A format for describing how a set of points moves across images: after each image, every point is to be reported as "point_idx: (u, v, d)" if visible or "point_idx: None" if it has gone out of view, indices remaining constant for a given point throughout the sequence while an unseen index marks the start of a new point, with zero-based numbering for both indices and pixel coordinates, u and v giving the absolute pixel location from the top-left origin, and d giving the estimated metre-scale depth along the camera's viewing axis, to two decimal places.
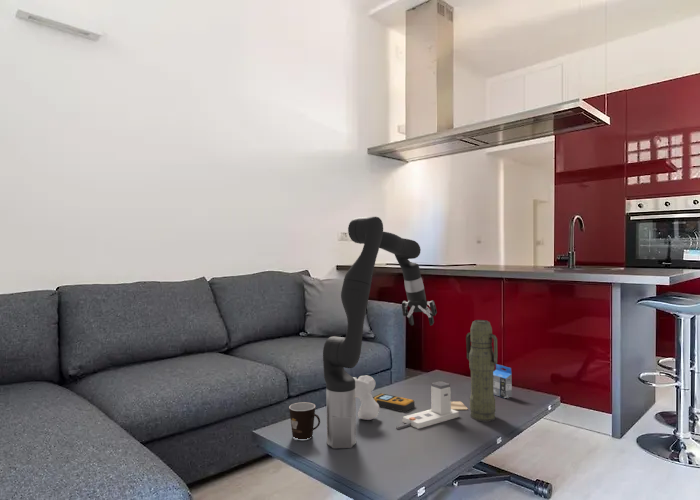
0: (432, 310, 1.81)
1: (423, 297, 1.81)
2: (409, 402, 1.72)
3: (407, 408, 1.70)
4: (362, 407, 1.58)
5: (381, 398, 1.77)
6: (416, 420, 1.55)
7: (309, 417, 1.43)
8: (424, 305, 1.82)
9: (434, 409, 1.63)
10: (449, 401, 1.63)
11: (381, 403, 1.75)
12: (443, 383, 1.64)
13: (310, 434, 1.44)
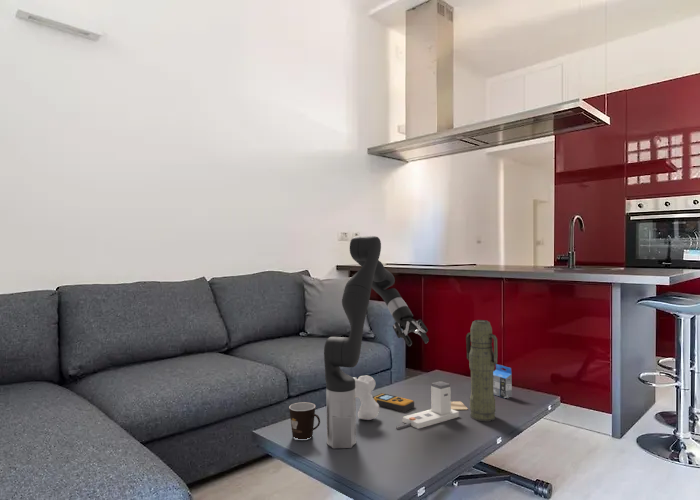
0: (424, 326, 1.80)
1: None
2: (408, 402, 1.72)
3: (406, 408, 1.70)
4: (362, 407, 1.58)
5: (381, 398, 1.77)
6: (416, 420, 1.55)
7: (309, 417, 1.43)
8: (415, 322, 1.80)
9: (434, 409, 1.63)
10: (449, 401, 1.63)
11: (381, 403, 1.75)
12: (443, 383, 1.64)
13: (310, 434, 1.44)
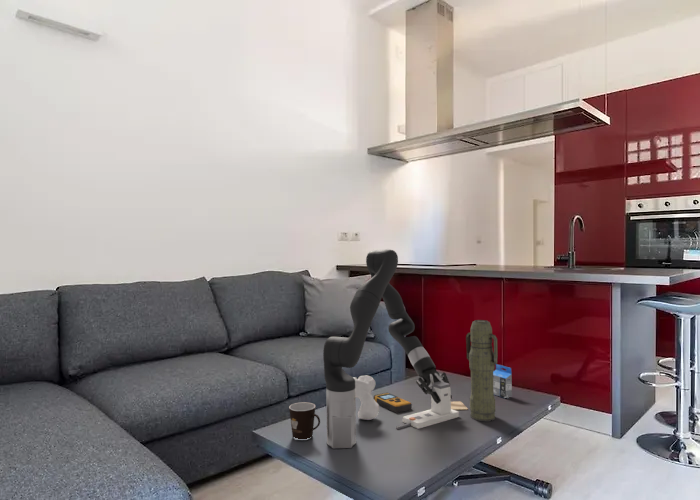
0: (447, 380, 1.69)
1: None
2: (404, 404, 1.70)
3: (399, 410, 1.68)
4: (362, 407, 1.58)
5: (381, 397, 1.79)
6: (416, 420, 1.55)
7: (309, 417, 1.43)
8: (438, 374, 1.69)
9: (434, 409, 1.63)
10: (449, 401, 1.63)
11: (380, 402, 1.77)
12: (443, 383, 1.64)
13: (310, 434, 1.44)
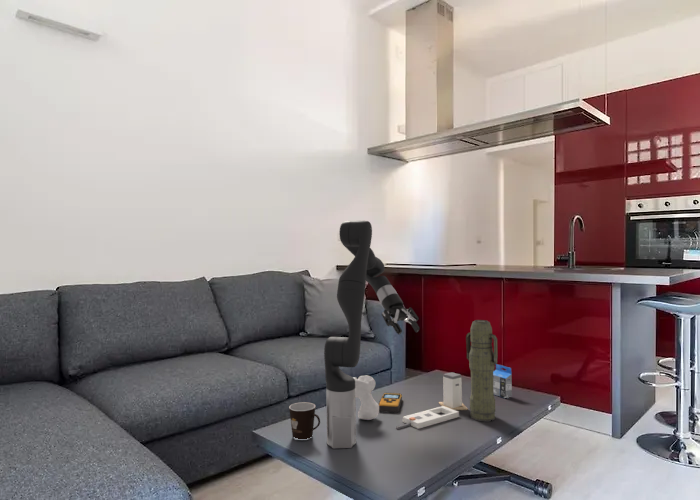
0: (414, 314, 1.73)
1: None
2: (388, 405, 1.69)
3: (382, 409, 1.69)
4: (362, 407, 1.58)
5: (385, 395, 1.81)
6: (416, 420, 1.55)
7: (309, 417, 1.43)
8: (405, 310, 1.73)
9: (446, 398, 1.74)
10: (460, 391, 1.74)
11: None
12: (454, 374, 1.75)
13: (310, 434, 1.44)
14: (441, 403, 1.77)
